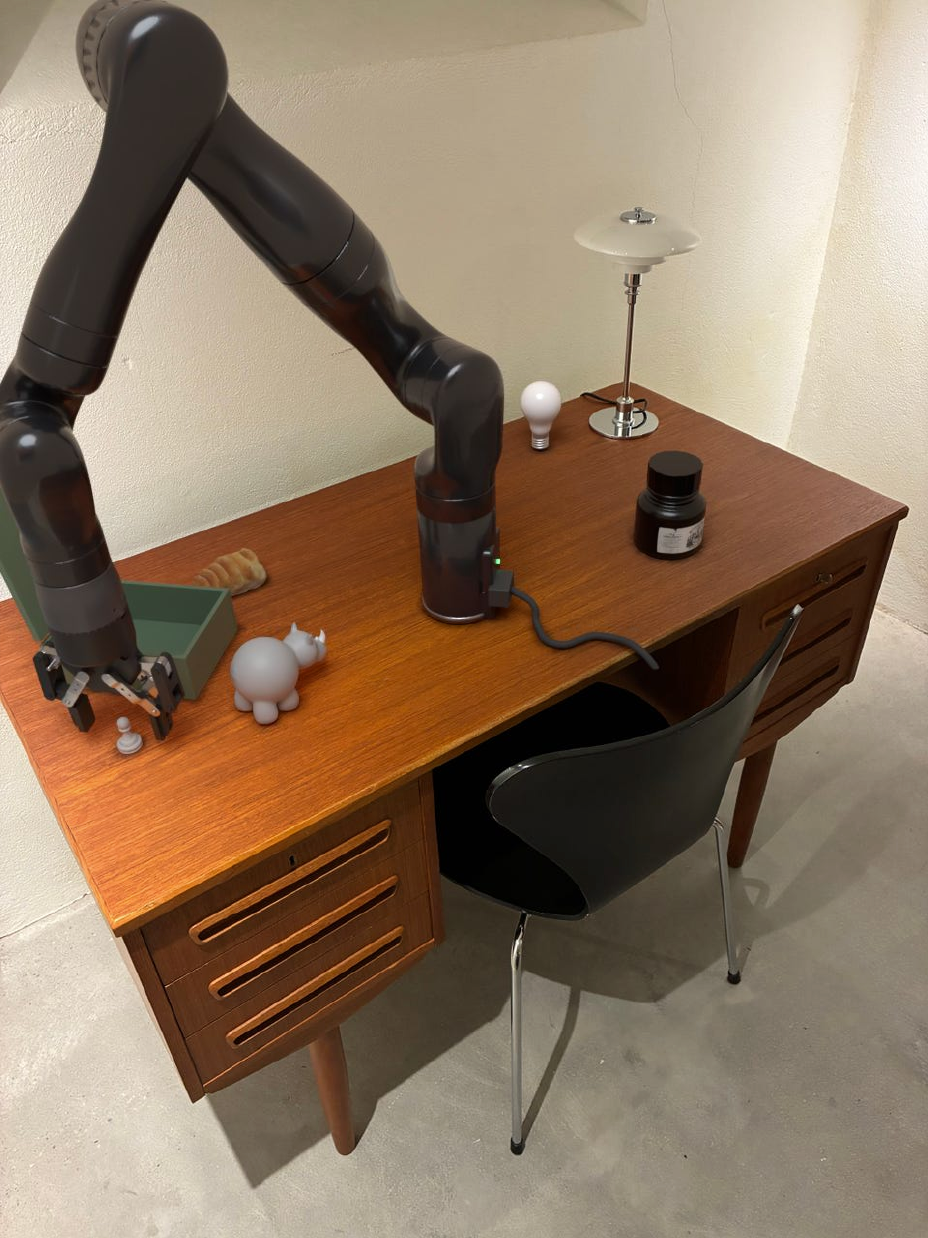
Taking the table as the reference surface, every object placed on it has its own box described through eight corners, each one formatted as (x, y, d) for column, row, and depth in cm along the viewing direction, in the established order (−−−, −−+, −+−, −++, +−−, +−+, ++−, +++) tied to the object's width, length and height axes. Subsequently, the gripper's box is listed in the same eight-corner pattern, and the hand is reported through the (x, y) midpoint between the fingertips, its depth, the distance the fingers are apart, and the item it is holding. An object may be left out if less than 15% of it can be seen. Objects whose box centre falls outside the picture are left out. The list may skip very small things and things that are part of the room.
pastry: (206, 612, 124) (200, 586, 121) (182, 588, 128) (176, 564, 126) (271, 583, 128) (267, 558, 126) (246, 561, 133) (241, 537, 130)
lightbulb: (517, 457, 154) (517, 390, 147) (522, 438, 159) (522, 373, 152) (558, 459, 153) (560, 392, 146) (562, 440, 158) (564, 374, 151)
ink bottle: (669, 570, 128) (678, 488, 120) (617, 543, 133) (623, 463, 126) (716, 541, 133) (727, 461, 125) (664, 517, 138) (672, 439, 131)
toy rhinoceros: (350, 683, 112) (342, 623, 107) (263, 737, 105) (250, 675, 100) (311, 655, 116) (302, 596, 111) (225, 705, 110) (210, 645, 104)
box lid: (37, 439, 109) (31, 439, 109) (-31, 499, 99) (-37, 499, 99) (97, 574, 120) (91, 574, 120) (41, 641, 109) (34, 642, 109)
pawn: (116, 742, 105) (106, 714, 103) (140, 734, 106) (132, 706, 104) (120, 757, 104) (110, 729, 101) (145, 750, 104) (136, 722, 102)
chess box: (238, 628, 121) (229, 588, 117) (196, 700, 110) (185, 658, 107) (107, 617, 124) (95, 577, 120) (54, 686, 113) (39, 645, 110)
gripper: (-5, 624, 92) (45, 749, 102) (137, 636, 90) (175, 763, 100) (36, 578, 98) (80, 701, 108) (171, 589, 96) (204, 713, 105)
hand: (126, 731), depth 104 cm, fingers open, 8 cm apart
